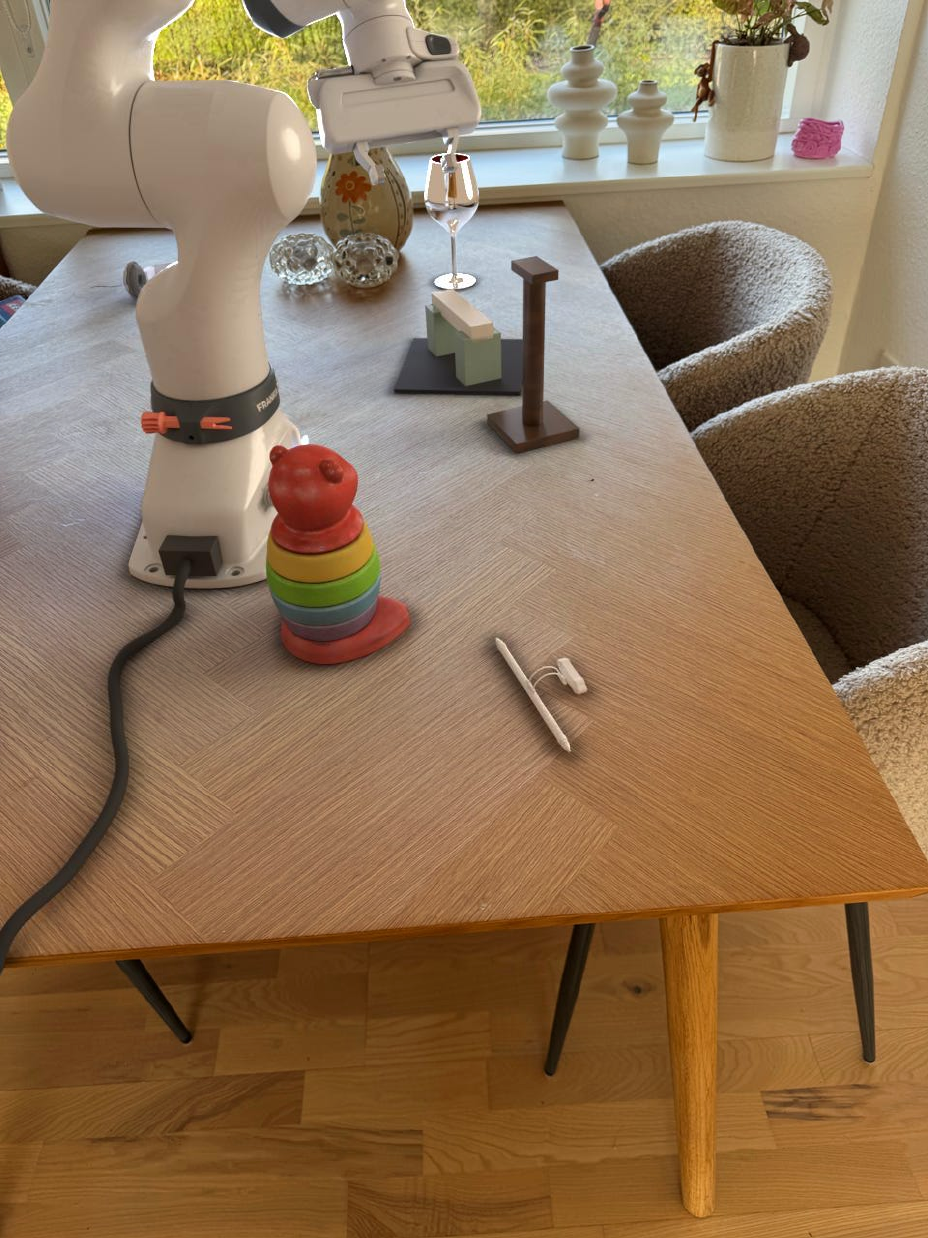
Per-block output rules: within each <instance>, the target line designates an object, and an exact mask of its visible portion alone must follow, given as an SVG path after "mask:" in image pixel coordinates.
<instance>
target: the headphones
mask: <svg viewBox="0 0 928 1238" xmlns="http://www.w3.org/2000/svg"><path fill="white" fill-rule="evenodd" d="M173 263H174V262H167V263H159V264H154V265H148V266H146V267H144V268H143V267H142V266H141V265H140V264H139V263H137V262H136V261H133V260H131V261H129V262H128V263H126V266H125V268H124V270H123V273H122V284H121V285H119V287H122V286H124V289H125V291H126V292H127V293H128V295H129V297H130V298H131V299H132V300H134V301H137V299H138V296H139V293H140V291H141V290H142V288H143V286H144V285H145V284H146V283H147V282H148V281H149V280H150V279H151V278H152V277H153V276H155V275H156V274H157V273H159V272H160V271H162V270H163V269H165V268H166V267H168V266H170V265H171V264H173ZM99 287H100V288H101V287H103V288H108V286H106V285H105V286H104V285H96V286H91V287H90V288H89V290H92V289H93V288H99ZM117 287H118V285H115V286H110V288H117Z"/></svg>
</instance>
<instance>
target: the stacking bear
mask: <svg viewBox="0 0 928 1238" xmlns="http://www.w3.org/2000/svg"><path fill="white" fill-rule="evenodd" d="M269 458H270V462H271V463H272V469H271V471H270V474H269V480H268V489H269V494H270V498H271V501H272V503H273V505H274V507H275V509H276V511H277V512H278V514H277V515H276V517H275V518H274V520H273V522H272V525H271V530H270V532H269V535H268V541H267V557H266V577H267V578H266V582H267V586H268V591H269V593H270V597H271V599H272V601H273V604H274V605H275V607H276V609H277V612H278V614H279V615H280V616H279V617H281V619H282V621H281V629H280V630H281V631H280V634H281V640H282V643H283V645H284V647H285V649H287V651H288V652H289V653H290V654H291V655H293V656H294V657H296V658H298V659H300V660H301V661H305V662H308V663H312V664H319V665H334V664H340V663H345V662H349V661H353V660H357V659H359V658H362V657H365V656H367V655H369V654H372V653H374V652H376V651H378V650H380V649H382V648H384V647H385V646H387V645H389V644H390V643H392V642H393V641H394V640H396V639H397V638H398V637H399V636H400V635H401V634H402V633H404V631H406V630H407V628H408V627H409V625H410V624H411V617H410V612H409V609H408V606H407V605H406V604H405V603H404V602H401V601H399V600H397V599H396V598H393V597H388V596H382V595H379V593H380V591H381V590H380V589H381V578H382V577H381V574H382V572H381V571H382V570H381V562H380V556H379V552H378V549H377V547H376V546H377V545H376V544H375V542H374V539H373V536H372V533H371V531H370V529H369V527H368V523H367V522H366V520H365V519H364V516H363V514H362V513H361V511H360V510H359V509H358V508H357V507H356V506H355V505H354V504H353V503H354V500H355V498H356V495H357V491H358V487H359V486H358V485H359V484H358V483H359V476H358V471H357V470H356V468H355V467H354V465H353V464H352V463H351V462H348V460H346V459H345V458H344V457H343V456H342V455H340V454H339V453H338V452H336V451H335V450H333V449H331V448H329V447H327V446H324V445H321V444H314V443H308V444H304V445H299V446H295V447H293V448H291V449H289V450H288V449H286V448H285V447H284V446H281V445H277V446H274V447H273V448H272V450H271V451H270V455H269Z"/></svg>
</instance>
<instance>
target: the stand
mask: <svg viewBox="0 0 928 1238" xmlns="http://www.w3.org/2000/svg"><path fill="white" fill-rule="evenodd" d="M510 270H511V271H512V272H513V273H515V274H516V275H518V276H519V277H521V278H522V339H523V369H522V389H521V396H522V397H521V398H522V399H521V400H522V403H521V406H517V407H513V408H509V409H505V410H500V411H497V412H492V413H488V414H487V415H486V423H487V425H488V426H489V427H490V428H491V429H492V430H493V431H494V432H495V433H496V434H497V435H498V436H499V437H500V438H501V439H502V440H503V441H504V442H505V443H506V444H507V446H509V448H510V449H511V450H513V451H514V453H516V454H520V453H524V452H526V451H527V452H528V451H532V450H536V449H541V448H544V447H547V446H552V445H556V444H559V443H563V442H567V441H572V440H575V439H579V438H580V431H581V430H580V426H577V424H575V423H574V422H573V421H572V420H571V419H569V418H568V417H567V416H566V415H565V414H564V413H562V411H561V410H559V409H558V408H557V407H556V406H555V405H554V404H552V403H551V402H550V401H549V400H548V399H547V400H544V397H545V396H544V392H545V386H544V385H545V345H546V344H545V343H546V296H547V294H546V292H547V283H549V282H554V281H559V269H558V268H556V267H554V266H553V265H551V264H550V263H548V262H547V261H545V260H543V259H542V258H541V257H539V256H537V255H535V256H530V257H524V258H519V259H512V260H510Z"/></svg>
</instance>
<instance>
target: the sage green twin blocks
mask: <svg viewBox="0 0 928 1238" xmlns="http://www.w3.org/2000/svg"><path fill="white" fill-rule="evenodd" d="M424 309H425V323H426V324H425V325H426V338H427V341H428V349H429V350H430V351H431V352H432V353H433V354H434V355H435V356H436V357H437V356H441V355H446V354H451V353H455V359H456V377H457V378H458V379H459V380H460V381H461V382H462V383H463V384H464V385H465V386H469V385H473V384H478V383H482V382H487V381H491V380H496V379H500V378H501V339H502V332H501V331H499V330H498V329H497V328H496V327H495V326H494V322H493V321H492V320H490V319H489V318H488V316H486V315H485V314H484V313H482V312H481V311H480V310H479V309H477V307H475V305H473V304H471V303H470V302H469V301H468V300H467V299H466V298H464V297H463V295H461V294H460V293H458V292H457V291H456V290H453V289H442V290H439V291H432V292H431V303H430V304H425V306H424Z"/></svg>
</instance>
